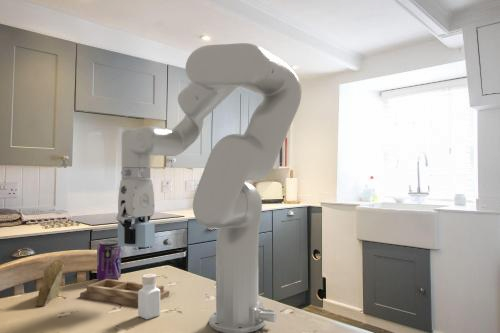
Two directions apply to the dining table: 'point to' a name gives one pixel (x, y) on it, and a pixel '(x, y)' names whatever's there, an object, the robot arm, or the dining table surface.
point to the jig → (117, 291)
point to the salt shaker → (149, 297)
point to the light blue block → (139, 234)
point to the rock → (50, 283)
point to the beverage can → (108, 260)
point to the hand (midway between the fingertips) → (135, 241)
